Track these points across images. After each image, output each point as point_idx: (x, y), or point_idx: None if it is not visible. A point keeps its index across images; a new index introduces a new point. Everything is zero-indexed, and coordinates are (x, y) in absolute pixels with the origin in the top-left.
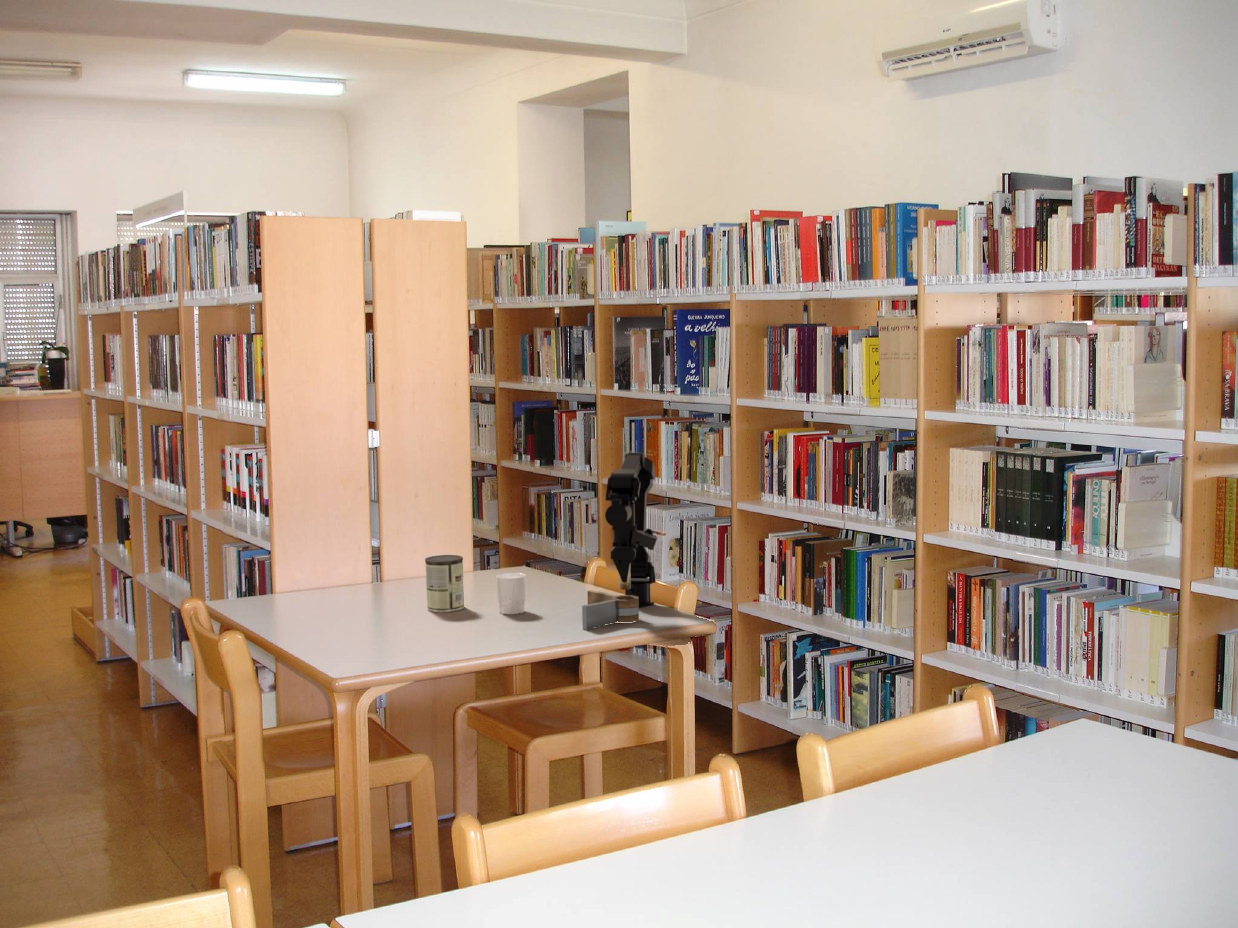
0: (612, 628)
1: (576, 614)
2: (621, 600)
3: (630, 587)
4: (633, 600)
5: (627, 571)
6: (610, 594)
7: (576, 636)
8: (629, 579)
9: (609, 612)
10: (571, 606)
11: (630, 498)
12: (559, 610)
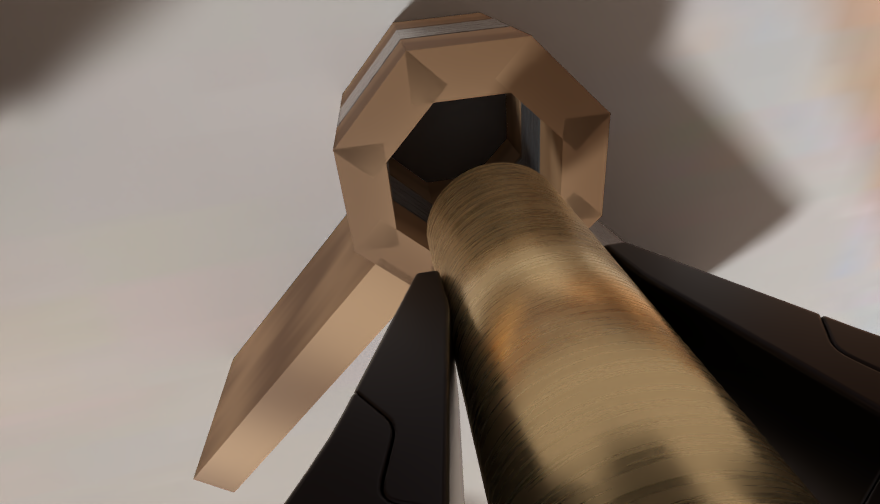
0: (663, 165)
1: (314, 410)
2: (596, 195)
3: (514, 168)
4: (577, 81)
5: (795, 319)
6: (337, 330)
7: (798, 301)
8: (580, 224)
9: (603, 236)
10: (122, 473)
11: None
12: (240, 490)
